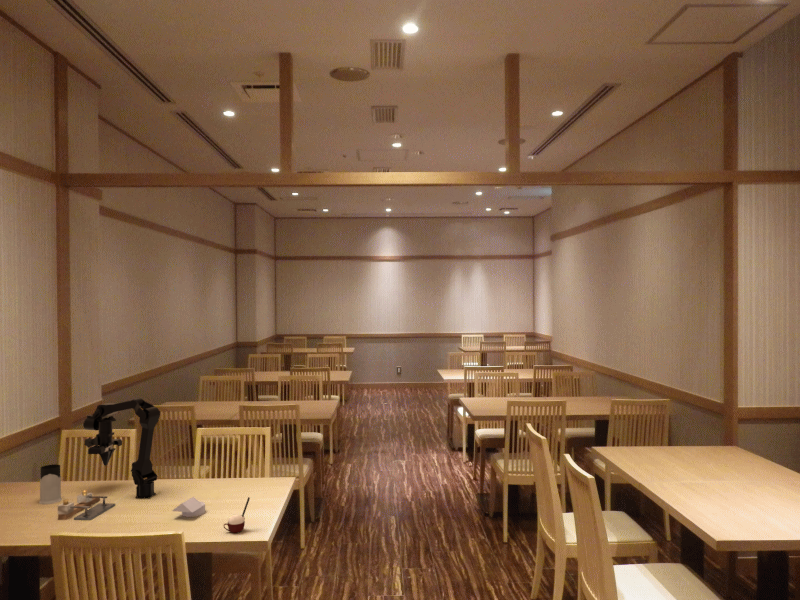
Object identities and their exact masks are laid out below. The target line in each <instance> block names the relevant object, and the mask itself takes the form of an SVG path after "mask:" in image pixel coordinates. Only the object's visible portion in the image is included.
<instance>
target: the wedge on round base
mask: <svg viewBox="0 0 800 600" xmlns="http://www.w3.org/2000/svg"><path fill="white" fill-rule="evenodd" d="M171 512H181V515H182V516H183V517H185V516H186V517H187V518H192V517H193V516H195V517H199V516H202V515H204V514H205V513H206V503H205V502H204V501H201V500H198V499H197V498H196V497H195V496H192V497H190V498H188V499H187V500H185V501H183V502H181V503H180V504H179V505H178V506H176V507H175V508H174V509H173V510H171ZM198 515H199V516H198ZM186 517H185V518H186ZM193 518H194V517H193Z"/></svg>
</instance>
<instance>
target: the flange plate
mask: <svg viewBox="0 0 800 600" xmlns="http://www.w3.org/2000/svg"><path fill="white" fill-rule="evenodd" d="M115 506H116V503H114V502H113V503H111V502H109V503H106V502H105V505H103V502H101V503H96V505H94V506H93V507H91V508H88V509H87V516H85V511H84V512H82V513H80V514H78V515H76V516H75V517H74V518H73V520H74V521H92V520H93V519H96V518H97V517H98V516H101V515H102V514H104V513H105V512H107V511H109V510H111V509H112V508H114V507H115Z"/></svg>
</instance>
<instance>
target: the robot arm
mask: <svg viewBox="0 0 800 600" xmlns="http://www.w3.org/2000/svg"><path fill="white" fill-rule="evenodd" d="M130 409H133V410H134V411H133V412H134V413H135V415H136V416H137V417H138V418H139V420H138V421H139V424H140V426H141V434H140V440H139V441H140V442H139V448H138V456H137V459H136V461H133V462H132V463H131V470H130V472H131V477H132V479H133V483H134V485H136V487H135V489H136V491H135V492H136V496H135V498H134V499H151V498H153V497H154V496H155V495H157V492H155V481H157V479H158V475H157V474H156V472H155V471H154V469H153V463H152V461H151V454H152V446H153V445H152V444H153V438H154V430H155V427H156V426H157V424H158V422H159V419H160V416H161V411H160V409H159V408H158V407H156V406H154V405H153V404H151V403H150V402H148V401H146V400H144V399H143V398H133V399H132V400H127V401H122V402H119V403H118V402H107V403H102V404H98V405H97V406H96V409H95V410H94V412H93V413H92V414H88V415H86V418H85V419H84V421H83V424H82V426H83V428H84V430H87V431H98V433H97V434H96V435H95V437H94V438H91V437H89V438H86V439H85V438H84V446H86V447H87V454H88V455H99V456H100V458H101V461H102V464H103V466H105V467H107V466H108V464H109V462H110V460H111V458H112V456H113V455H114V452H115V450H116V448H114V447H113V446H117V447H121V446H123V440H122V439H120V438H113V436H114V435H115V432H113V422H117V419H116V418H115V417H114V416H113V415H115V414H117V413H118V412H120V411H125V410H130Z"/></svg>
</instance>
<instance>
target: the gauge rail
mask: <svg viewBox="0 0 800 600" xmlns="http://www.w3.org/2000/svg"><path fill="white" fill-rule="evenodd" d="M99 501H101V498H92V500H91V501H89V502H88V503H77V504H75V502H69V499H62V503H60V504H58V505H57V520H59V521H60V520H61V521H62V520H63V521H65V520H68V519H70V518H71V517H73V516H75V515H76V514H79V513H80V512H82V511H84V512H85V516H87V510H88V509H90V507H91V506H93V505H94V504H97V503H98V502H99Z"/></svg>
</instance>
